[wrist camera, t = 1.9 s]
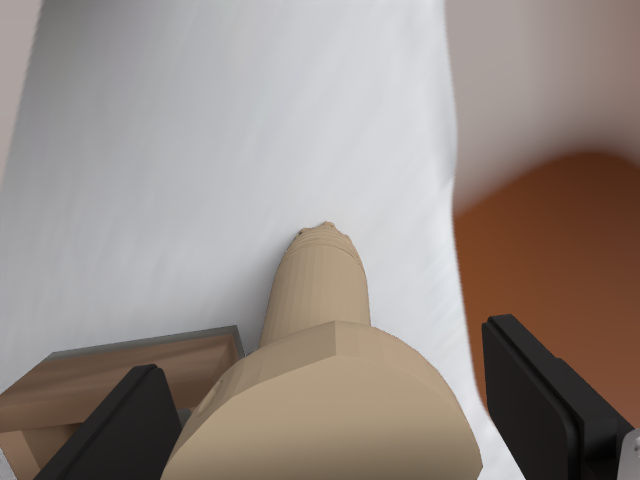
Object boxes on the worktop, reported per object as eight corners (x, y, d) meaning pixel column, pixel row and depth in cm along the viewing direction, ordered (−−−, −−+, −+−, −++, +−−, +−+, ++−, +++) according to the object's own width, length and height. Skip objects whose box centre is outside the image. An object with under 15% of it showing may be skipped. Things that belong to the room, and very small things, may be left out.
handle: (254, 261, 21) (96, 537, 7) (326, 175, 20) (319, 299, 5) (318, 311, 22) (296, 650, 8) (393, 232, 21) (539, 473, 6)
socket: (52, 352, 23) (-20, 410, 19) (236, 325, 22) (211, 378, 18) (115, 495, 27) (67, 576, 22) (277, 477, 26) (265, 556, 21)
